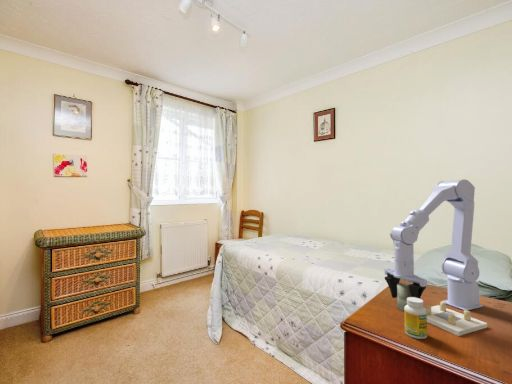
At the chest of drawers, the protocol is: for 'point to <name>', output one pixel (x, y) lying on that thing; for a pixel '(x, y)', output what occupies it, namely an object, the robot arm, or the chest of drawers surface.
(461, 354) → the chest of drawers surface
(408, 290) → the peg
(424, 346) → the chest of drawers surface
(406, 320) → the supplement bottle
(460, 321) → the base plate
